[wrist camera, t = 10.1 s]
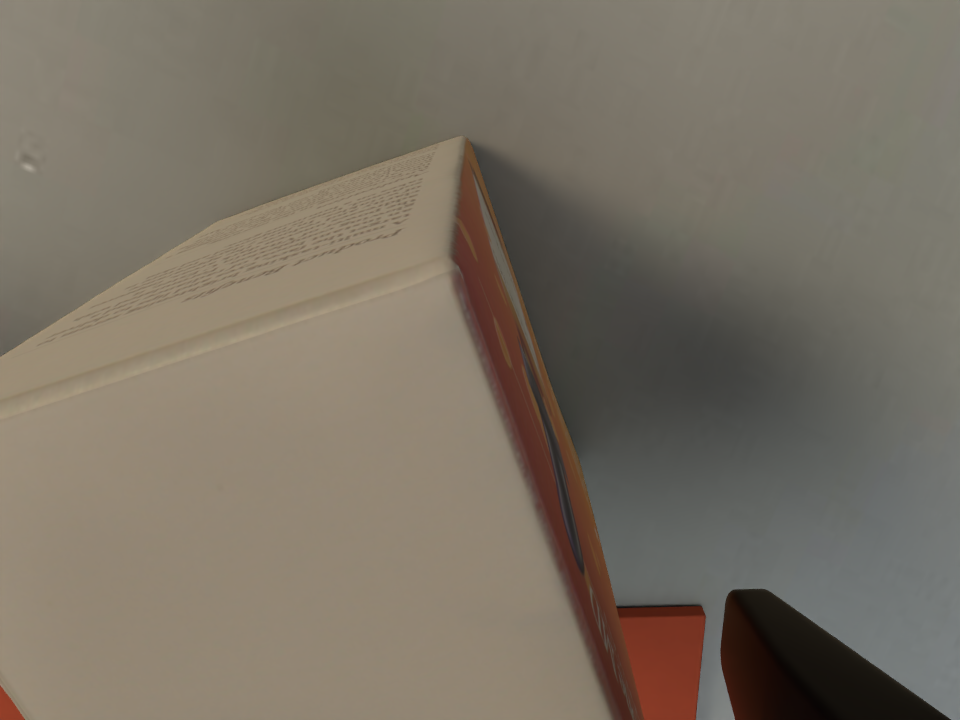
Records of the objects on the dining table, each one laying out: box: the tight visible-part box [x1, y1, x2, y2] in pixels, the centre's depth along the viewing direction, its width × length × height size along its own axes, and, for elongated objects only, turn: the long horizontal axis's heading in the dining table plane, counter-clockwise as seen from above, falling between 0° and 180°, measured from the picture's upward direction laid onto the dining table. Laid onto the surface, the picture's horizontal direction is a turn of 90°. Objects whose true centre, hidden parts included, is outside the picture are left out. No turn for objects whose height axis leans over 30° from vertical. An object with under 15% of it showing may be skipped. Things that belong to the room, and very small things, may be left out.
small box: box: [0, 136, 644, 720], centre depth 12 cm, size 8×6×10 cm
